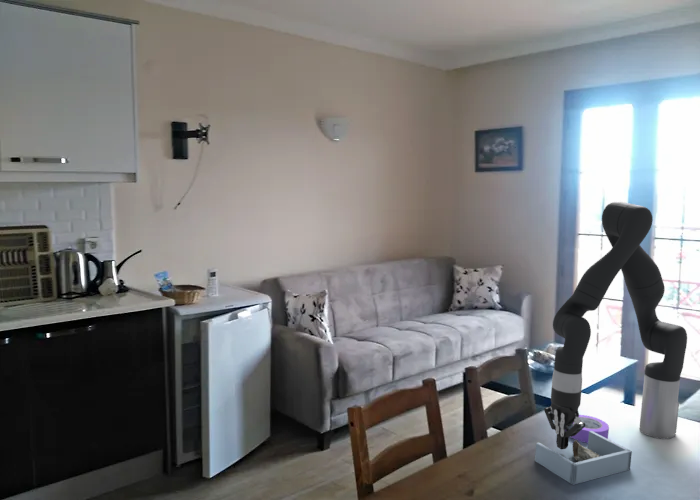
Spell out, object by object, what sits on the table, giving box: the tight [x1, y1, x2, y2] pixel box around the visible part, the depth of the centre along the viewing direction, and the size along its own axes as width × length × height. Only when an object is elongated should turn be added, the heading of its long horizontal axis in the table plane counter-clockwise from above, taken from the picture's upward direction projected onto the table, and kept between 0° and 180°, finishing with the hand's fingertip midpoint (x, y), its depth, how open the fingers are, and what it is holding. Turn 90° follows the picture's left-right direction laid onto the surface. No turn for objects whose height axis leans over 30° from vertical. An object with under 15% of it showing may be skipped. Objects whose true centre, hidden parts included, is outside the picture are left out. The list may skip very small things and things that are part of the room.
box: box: [534, 431, 633, 486], centre depth 153 cm, size 20×13×5 cm, turn 115°
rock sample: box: [572, 439, 600, 462], centre depth 155 cm, size 10×8×9 cm
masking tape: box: [570, 414, 610, 444], centre depth 172 cm, size 12×12×4 cm
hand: (561, 447), depth 159 cm, fingers closed
